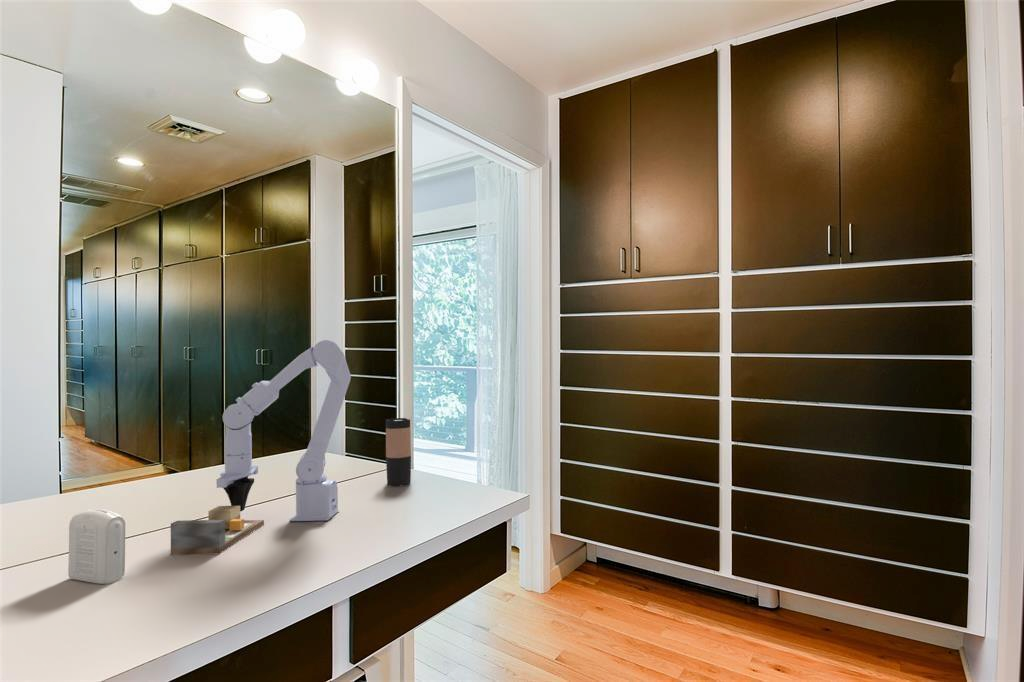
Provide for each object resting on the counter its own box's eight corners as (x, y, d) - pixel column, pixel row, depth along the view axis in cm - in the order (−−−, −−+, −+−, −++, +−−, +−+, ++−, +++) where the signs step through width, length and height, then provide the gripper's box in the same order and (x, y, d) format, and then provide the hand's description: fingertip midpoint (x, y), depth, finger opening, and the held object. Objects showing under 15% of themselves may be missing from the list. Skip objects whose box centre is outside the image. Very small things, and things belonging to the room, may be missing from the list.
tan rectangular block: (251, 522, 119) (251, 505, 119) (242, 528, 115) (241, 510, 115) (218, 523, 119) (218, 506, 119) (208, 529, 115) (208, 511, 115)
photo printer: (129, 576, 94) (129, 508, 94) (104, 586, 90) (104, 515, 90) (89, 570, 97) (90, 504, 97) (63, 580, 93) (64, 511, 93)
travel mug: (382, 486, 157) (381, 420, 158) (392, 480, 165) (391, 418, 166) (406, 486, 156) (405, 420, 157) (414, 480, 164) (414, 417, 164)
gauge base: (263, 525, 122) (263, 498, 122) (219, 553, 104) (219, 522, 104) (222, 525, 122) (222, 499, 122) (170, 554, 104) (170, 523, 104)
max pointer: (244, 528, 115) (243, 518, 115) (240, 530, 113) (240, 521, 113) (233, 528, 115) (233, 519, 115) (229, 530, 113) (229, 521, 113)
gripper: (238, 448, 131) (238, 502, 130) (203, 459, 116) (203, 520, 116) (266, 448, 131) (266, 502, 130) (234, 459, 116) (234, 520, 116)
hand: (238, 510), depth 123 cm, fingers closed
